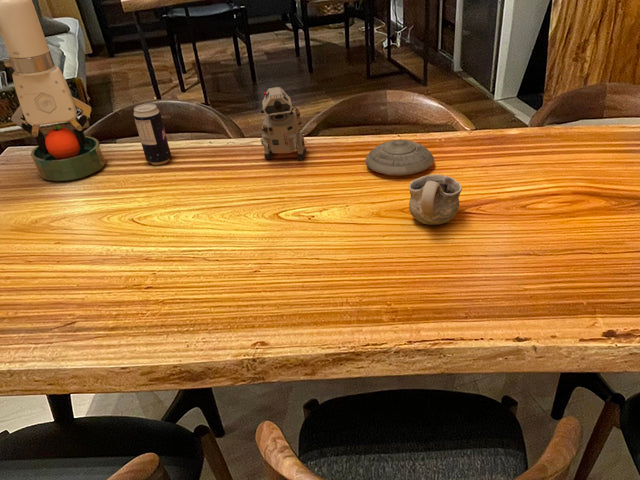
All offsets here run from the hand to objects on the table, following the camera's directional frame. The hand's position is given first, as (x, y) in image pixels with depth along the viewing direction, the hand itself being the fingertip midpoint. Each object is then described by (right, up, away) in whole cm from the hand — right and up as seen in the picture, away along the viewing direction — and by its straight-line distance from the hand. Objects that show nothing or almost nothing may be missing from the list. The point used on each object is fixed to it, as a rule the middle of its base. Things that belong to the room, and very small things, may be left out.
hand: (64, 149), depth 138 cm
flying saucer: (+74, -4, -1) cm, 74 cm away
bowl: (0, -4, +3) cm, 5 cm away
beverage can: (+19, -1, +5) cm, 20 cm away
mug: (+80, -22, -21) cm, 85 cm away
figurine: (+48, -2, +3) cm, 48 cm away
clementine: (0, -2, +2) cm, 2 cm away
